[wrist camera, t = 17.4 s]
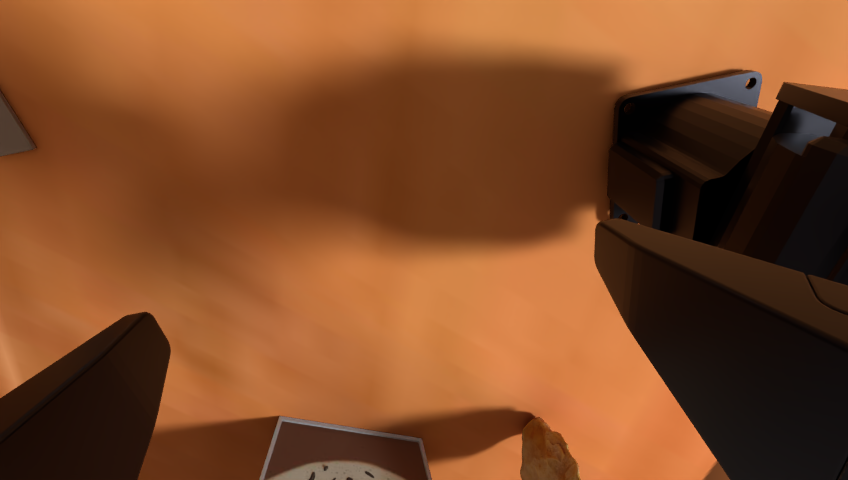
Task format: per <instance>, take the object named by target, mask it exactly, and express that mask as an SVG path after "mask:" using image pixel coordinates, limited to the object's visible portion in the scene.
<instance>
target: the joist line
mask: <svg viewBox="0 0 848 480" xmlns="http://www.w3.org/2000/svg"><path fill="white" fill-rule="evenodd" d="M35 148H36V146H35V145H34V143H33V141H32V140H31V138H30V137H29V135H28V133H27V132H26V130H25V129H24V127H23V126H22V124H21V122H20V121H19V119H18V118H17V116H16V115H15V113H14V111H13V110H12V108H11V107H10V105H9V103H8V102H7V100H6V99H5V97H4V96H3V94H2V92H1V91H0V156H4V155H9V154H14V153H19V152H24V151H29V150H33V149H35Z"/></svg>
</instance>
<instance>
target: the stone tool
mask: <svg viewBox="0 0 848 480" xmlns="http://www.w3.org/2000/svg"><path fill="white" fill-rule="evenodd" d="M520 475H521V478H522V480H580V476H579V466H578V463H577V462H576V460H575V459H574V458H573V457H572V456H571V454H570V452H569V449H568V444H567V443H566V442H565V440H564V438H563V437H562V435H561V434H560V433H558V432H554V431H551V429H550V427H549V426H548V424H546V423H545V422H544V420H542V419H541V418H540V417H537V418H534V419H532V420H531V421H530V422H529V423H528V424H527V425H526V426H525V427H524V429H523V432H522V466H521V470H520Z"/></svg>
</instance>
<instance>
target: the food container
mask: <svg viewBox="0 0 848 480" xmlns="http://www.w3.org/2000/svg"><path fill="white" fill-rule="evenodd" d="M259 480H432V478H431V474H430V470H429V466H428V462H427V457H426V453H425V449H424V445H423V441H422V438H416V437H410V436H403V435H397V434H391V433H385V432H378V431H372V430H366V429H359V428H353V427H347V426H341V425H334V424H328V423H322V422H315V421H309V420H303V419H296V418H290V417H284V416H279V419H278V422H277V425H276V429H275V432H274V435H273V438H272V441H271V444H270V447H269V450H268V454H267V457H266V460H265V463H264V466H263V469H262V472H261V476H260V479H259Z"/></svg>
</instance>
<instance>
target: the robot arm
mask: <svg viewBox="0 0 848 480" xmlns="http://www.w3.org/2000/svg"><path fill="white" fill-rule="evenodd" d="M749 79H750V82H749V84H748V85H747V86H746V87H745V84H746V82H747V81H748V80H749ZM761 84H762V76H761V74H760V73H759V72H756V71H752V70H745V71H740V72H735V73H730V74H726V75H721V76H716V77H711V78H706V79H702V80H697V81H692V82H687V83H682V84H677V85H673V86H668V87H663V88H658V89H653V90H649V91H644V92H639V93H634V94H629V95H625V96H623V97H621V98H620V99H619V100H618V101H617V102H616V104H615V108H614V126H613V144H612V146H611V147H610V149H609V162H608V188H607V196H608V197H609V198H610V220H605V221H601V222H599V223H598V224H597V225H596V229H595V251H594V259H595V264H596V267H597V269H598V271H599V273H600V275H601V277H602V279H603V281H604V283H605V285H606V287H607V289H608V291H609V293H610V295H611V297H612V299H613V301H614V302H615V304H616V306H617V308H618V310H619V312H620V314H621V316H622V318H623V320H624V322H625V323H626V325H627V327H628V329H629V330H630V332H631V333H632V335H633V336H634V338H635V339H636V341H637V342H638V344H639V345H640V347H641V348H642V350H643V351H644V353H645V354H646V356H647V357H648V359H649V360H650V362H651V363H652V365H653V366H654V368H655V369H656V371H657V372H658V374H659V375H660V376H661V378H662V379H663V381H664V382H665V384H666V385H667V387H668V388H669V390H670V391H671V393H672V394H673V396H674V397H675V399H676V400H677V402H678V403H679V405H680V406H681V408H682V409H683V411H684V412H685V413H686V415H687V416H688V418H689V419H690V421H691V422H692V424H693V425H694V427H695V428H696V430H697V431H698V433H699V434H700V436H701V437H702V439H703V440H704V442H705V443H706V445H707V446H708V448H709V449H710V450H711V452H712V453H713V455H714V456H715V458H716V459H717V461H718V462H719V464H720V465H721V467H722V468H723V470H724V471H725V473H726V474H727V476H728V477H729V479H730V480H848V90H846V89H837V88H829V87H821V86H813V85H805V84H797V83H789V82H783V85H782V87H781V89H780V91H779V93H778V95H777V97H776V99H778V100H779V101H778V103H777V105H776V107H775V109H774V111H773V113H772V112H769V111H766V110H763V109H760V108H757V103H758V98H759V93H760V89H761ZM629 103H630V104H631V106H630V109H629V110H628V111H627V112H624V108H625V106H626V105H627V104H629ZM621 214H624V216H623V217H622V218H620V219H619V216H620V215H621ZM638 223H639V224H638ZM170 353H171V349H170V344H169V342H168V340H167V338H166V336H165V335H164V333H163V331H162V330H161V328H160V326H159V325H158V323H157V321H156V320H155V318H154V317H153V315H151V314H150V313H148V312H141V313H136V314H131V315H127V316H124V317H123V318H121V319H120V320H118V321H117V322H115V323H114V324H112V325H111V326H109V327H108V328H106V329H105V330H103V331H101V332H100V333H98V334H97V335H95V336H94V337H92V338H91V339H89V340H88V341H86V342H85V343H83V344H82V345H80V346H79V347H77V348H76V349H74V350H73V351H71V352H70V353H68V354H67V355H65V356H64V357H62V358H61V359H59V360H58V361H56V362H55V363H53V364H52V365H50V366H49V367H47V368H46V369H44V370H42V371H41V372H39V373H38V374H36V375H35V376H33V377H32V378H30V379H29V380H27V381H26V382H24V383H23V384H21V385H20V386H18V387H17V388H15V389H14V390H12V391H11V392H9V393H8V394H6V395H5V396H3V397H2V398H0V480H137V479H138V476H139V473H140V470H141V467H142V464H143V461H144V458H145V455H146V452H147V449H148V446H149V443H150V440H151V437H152V433H153V430H154V427H155V423H156V419H157V415H158V411H159V406H160V401H161V397H162V392H163V387H164V383H165V378H166V373H167V368H168V364H169V359H170Z"/></svg>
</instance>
